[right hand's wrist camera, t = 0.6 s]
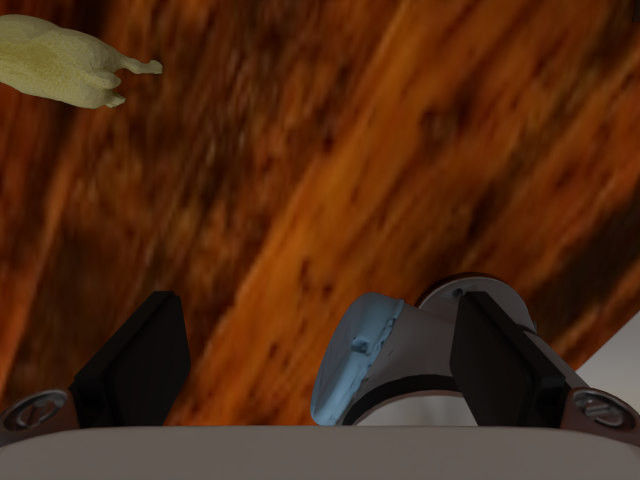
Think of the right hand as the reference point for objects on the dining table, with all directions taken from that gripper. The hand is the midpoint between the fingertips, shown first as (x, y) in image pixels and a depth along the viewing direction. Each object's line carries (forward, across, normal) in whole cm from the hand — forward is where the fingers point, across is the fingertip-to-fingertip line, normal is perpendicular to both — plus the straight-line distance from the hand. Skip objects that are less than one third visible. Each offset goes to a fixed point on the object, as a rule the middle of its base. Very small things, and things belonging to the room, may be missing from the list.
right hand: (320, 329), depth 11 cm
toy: (+31, +25, -12) cm, 41 cm away
